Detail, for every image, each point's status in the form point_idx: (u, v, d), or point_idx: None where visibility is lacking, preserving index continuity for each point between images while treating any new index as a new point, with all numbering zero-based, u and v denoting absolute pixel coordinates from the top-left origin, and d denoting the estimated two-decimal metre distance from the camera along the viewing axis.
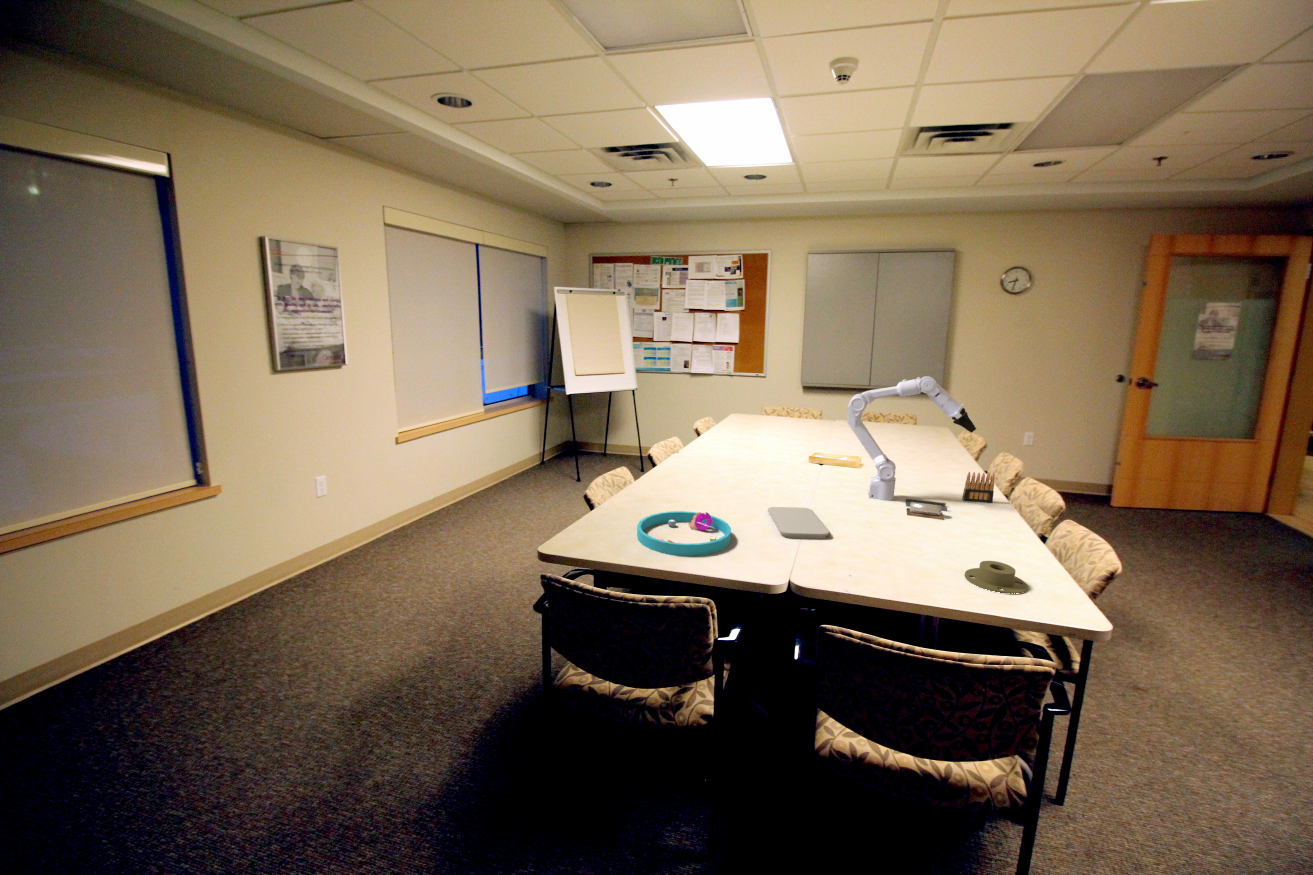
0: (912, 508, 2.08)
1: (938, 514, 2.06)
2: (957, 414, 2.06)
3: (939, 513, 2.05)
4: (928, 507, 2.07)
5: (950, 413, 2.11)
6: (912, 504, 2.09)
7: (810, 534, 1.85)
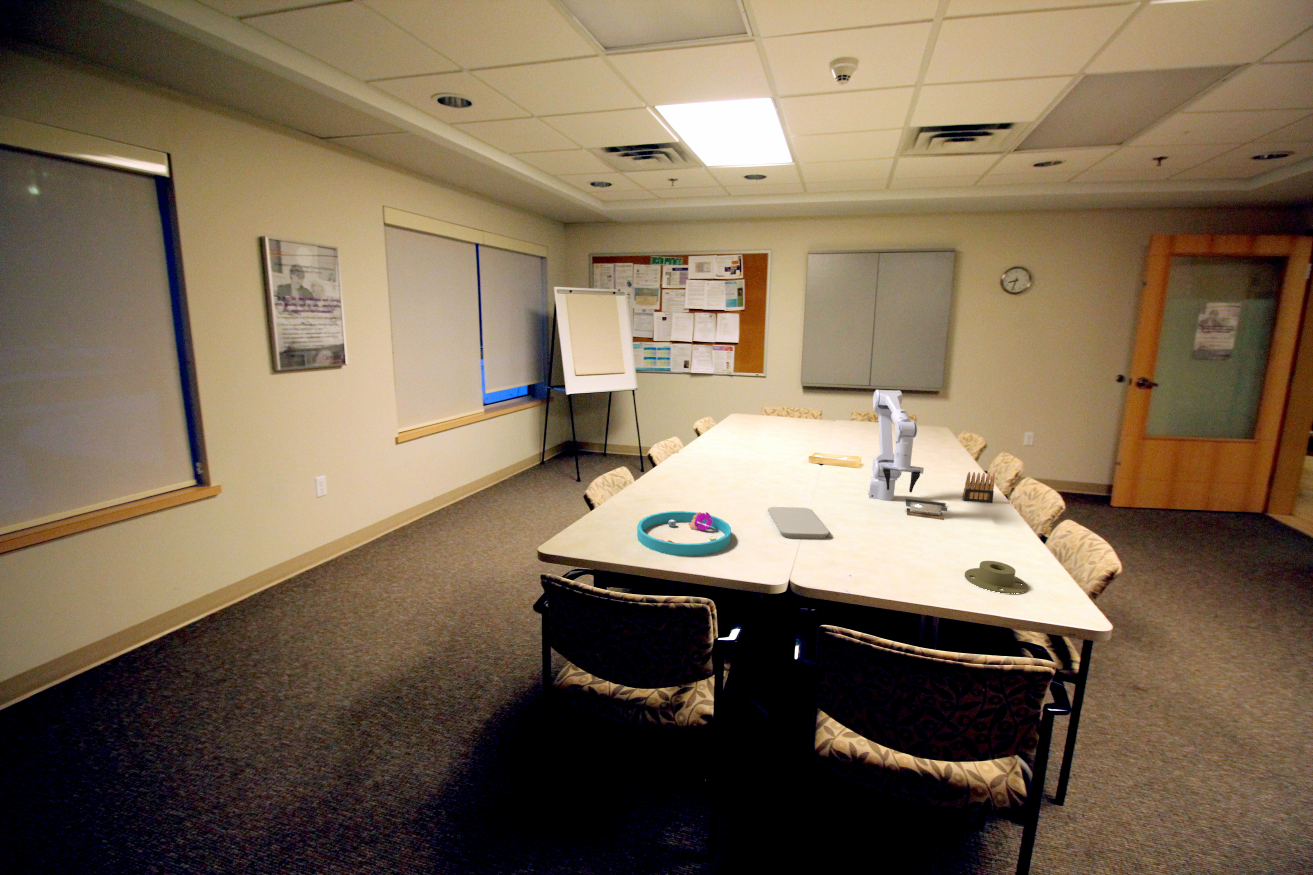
0: (912, 508, 2.08)
1: (938, 514, 2.06)
2: (880, 465, 2.11)
3: (939, 513, 2.05)
4: (928, 507, 2.07)
5: None
6: (912, 504, 2.09)
7: (810, 534, 1.85)
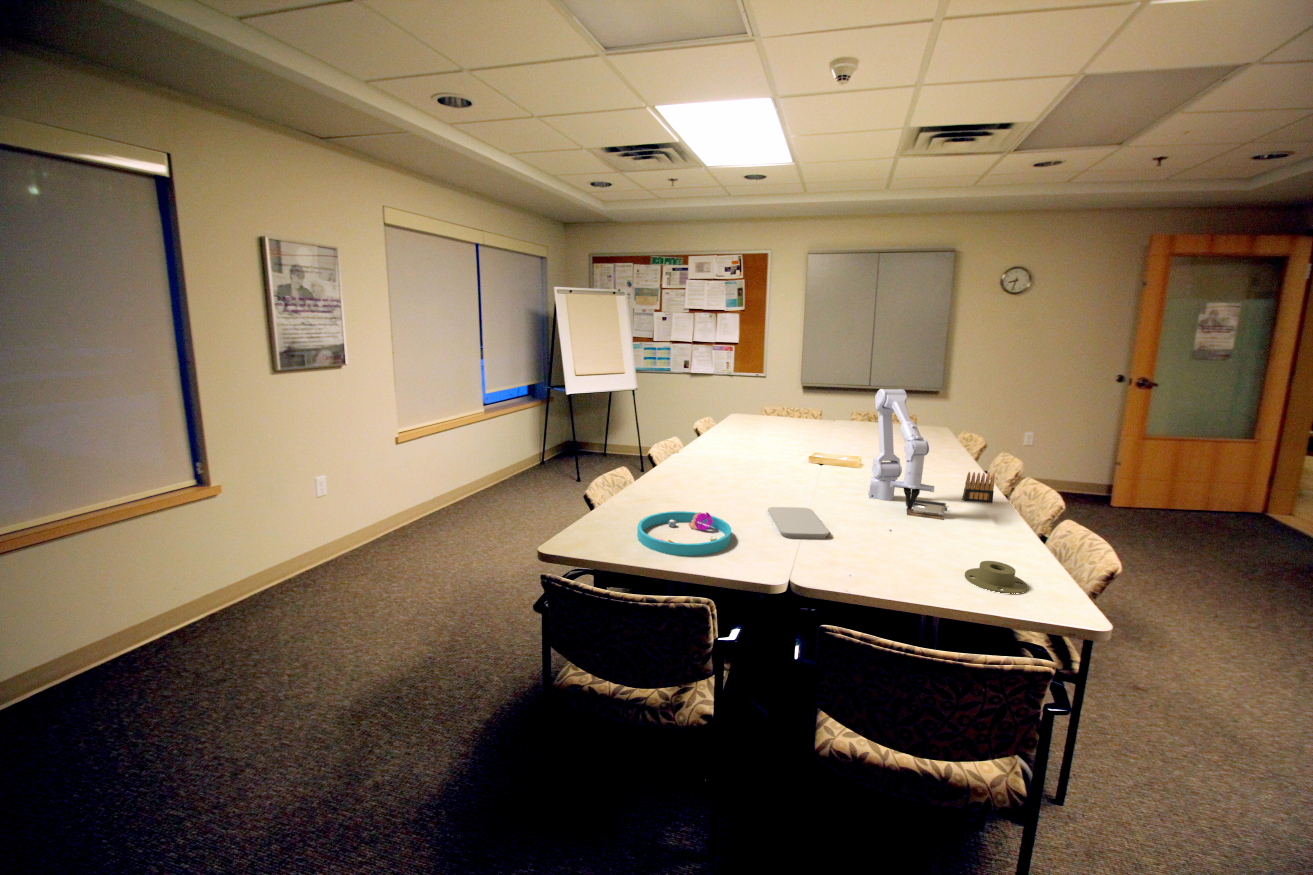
0: (915, 508, 2.08)
1: (941, 514, 2.05)
2: (890, 483, 2.11)
3: (942, 513, 2.05)
4: (931, 507, 2.06)
5: None
6: (915, 504, 2.08)
7: (810, 534, 1.85)
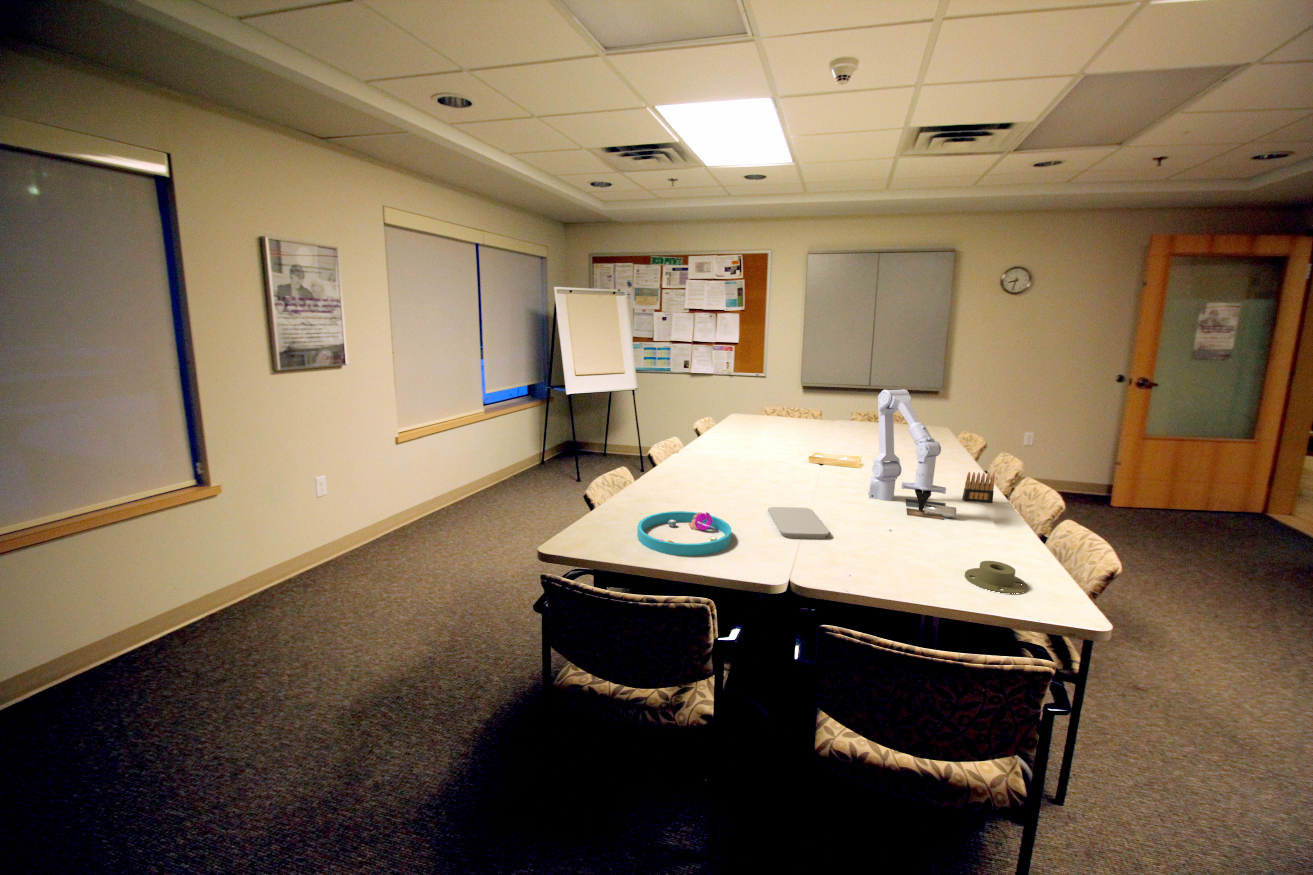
0: (926, 510, 2.07)
1: (953, 516, 2.04)
2: None
3: (954, 515, 2.04)
4: (943, 509, 2.05)
5: None
6: (926, 506, 2.07)
7: (810, 534, 1.85)
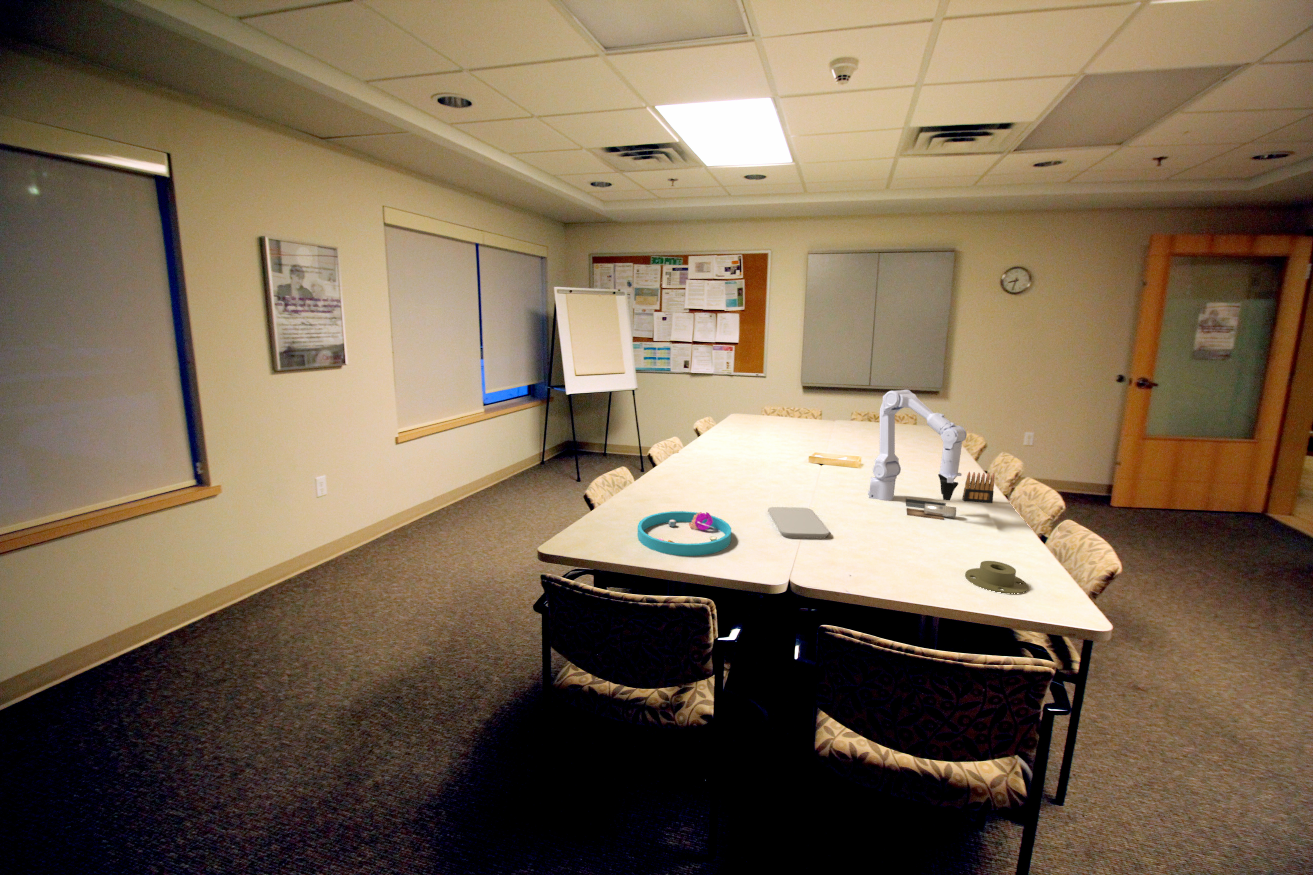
0: (927, 509, 2.07)
1: (953, 515, 2.04)
2: (951, 479, 1.97)
3: (954, 514, 2.04)
4: (943, 508, 2.05)
5: (945, 472, 2.02)
6: (926, 505, 2.08)
7: (810, 534, 1.85)
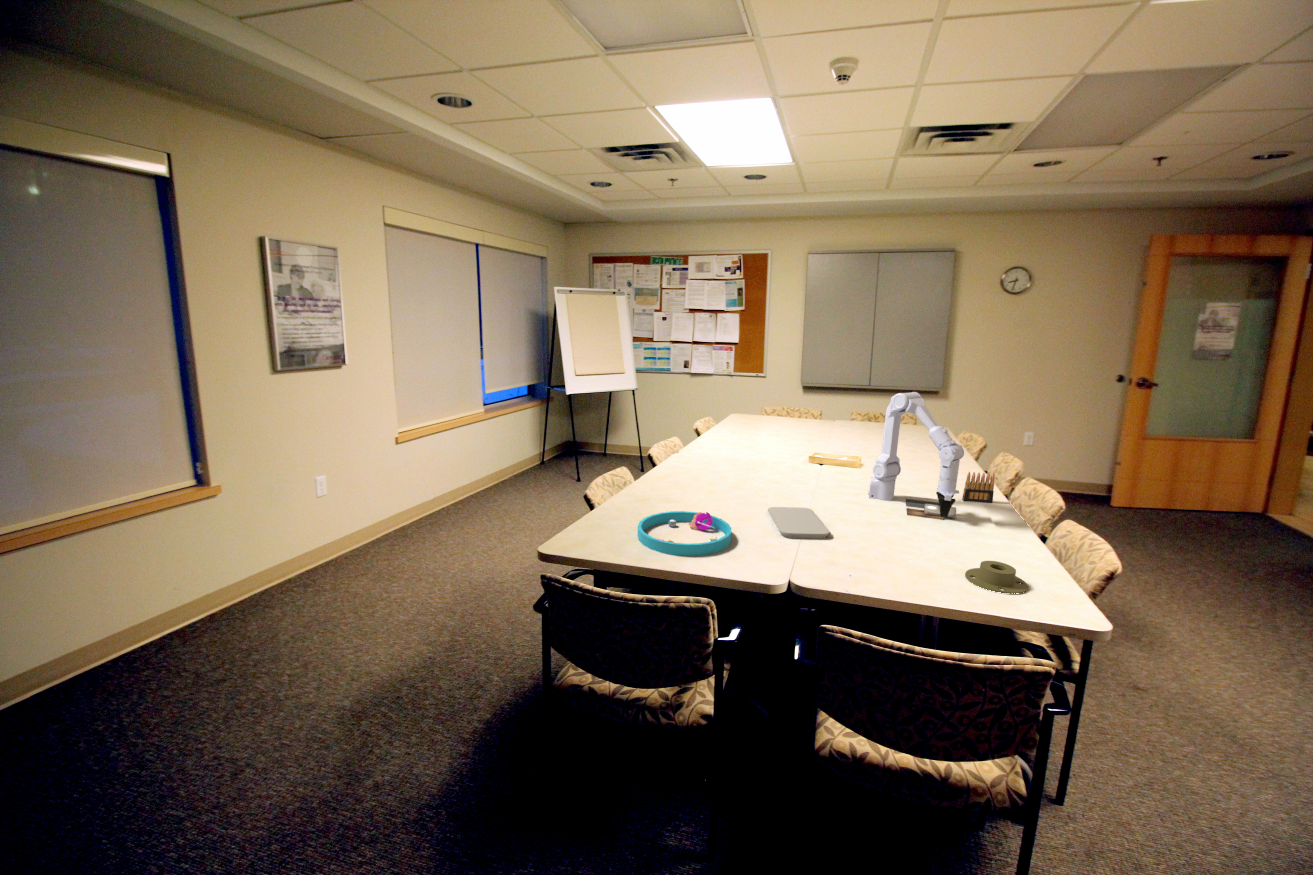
0: (926, 510, 2.07)
1: (953, 516, 2.04)
2: (949, 497, 1.98)
3: (954, 515, 2.04)
4: None
5: (942, 489, 2.03)
6: (926, 506, 2.07)
7: (810, 534, 1.85)
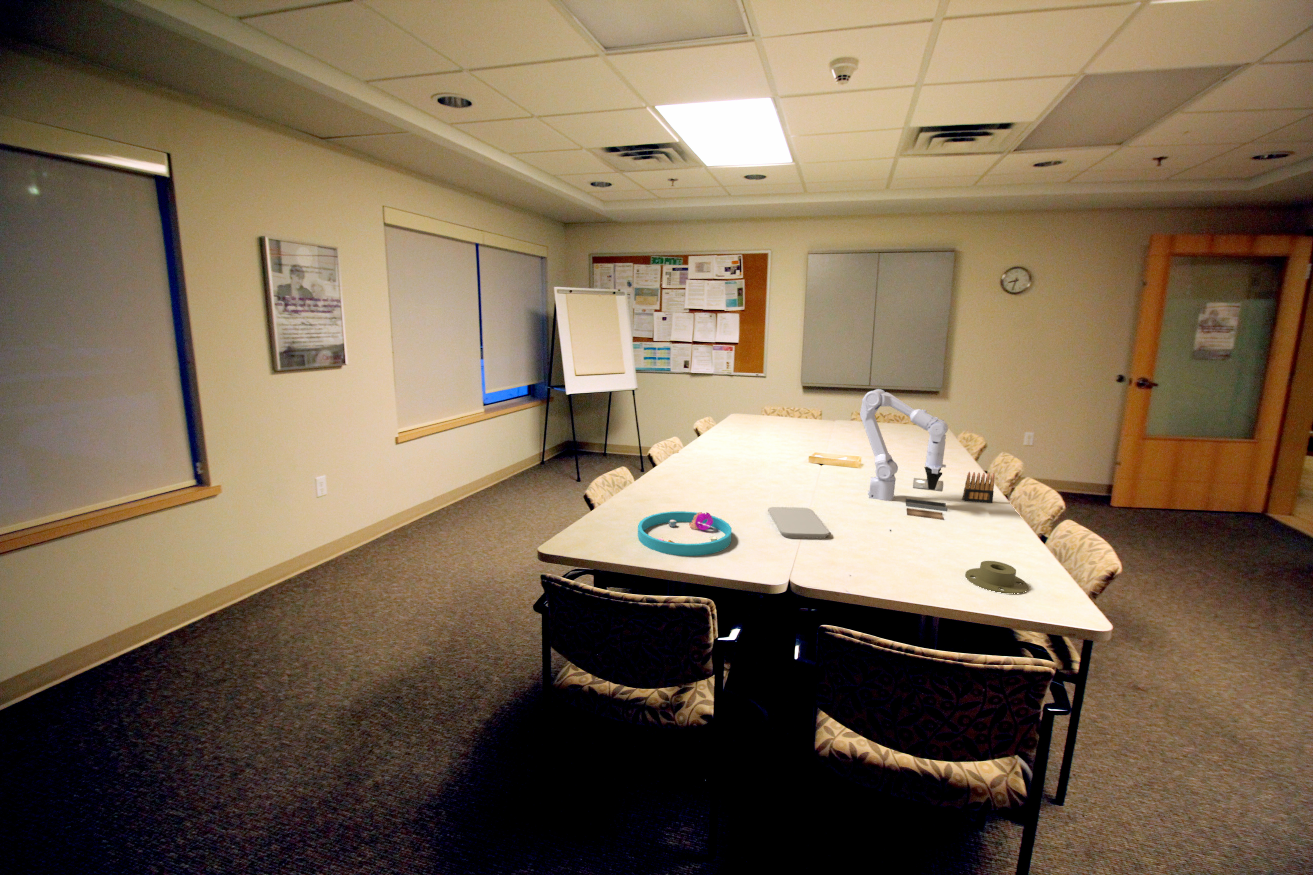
0: (915, 484, 2.17)
1: (940, 489, 2.14)
2: (936, 470, 2.08)
3: (941, 488, 2.14)
4: None
5: (930, 463, 2.13)
6: (915, 480, 2.17)
7: (810, 534, 1.85)
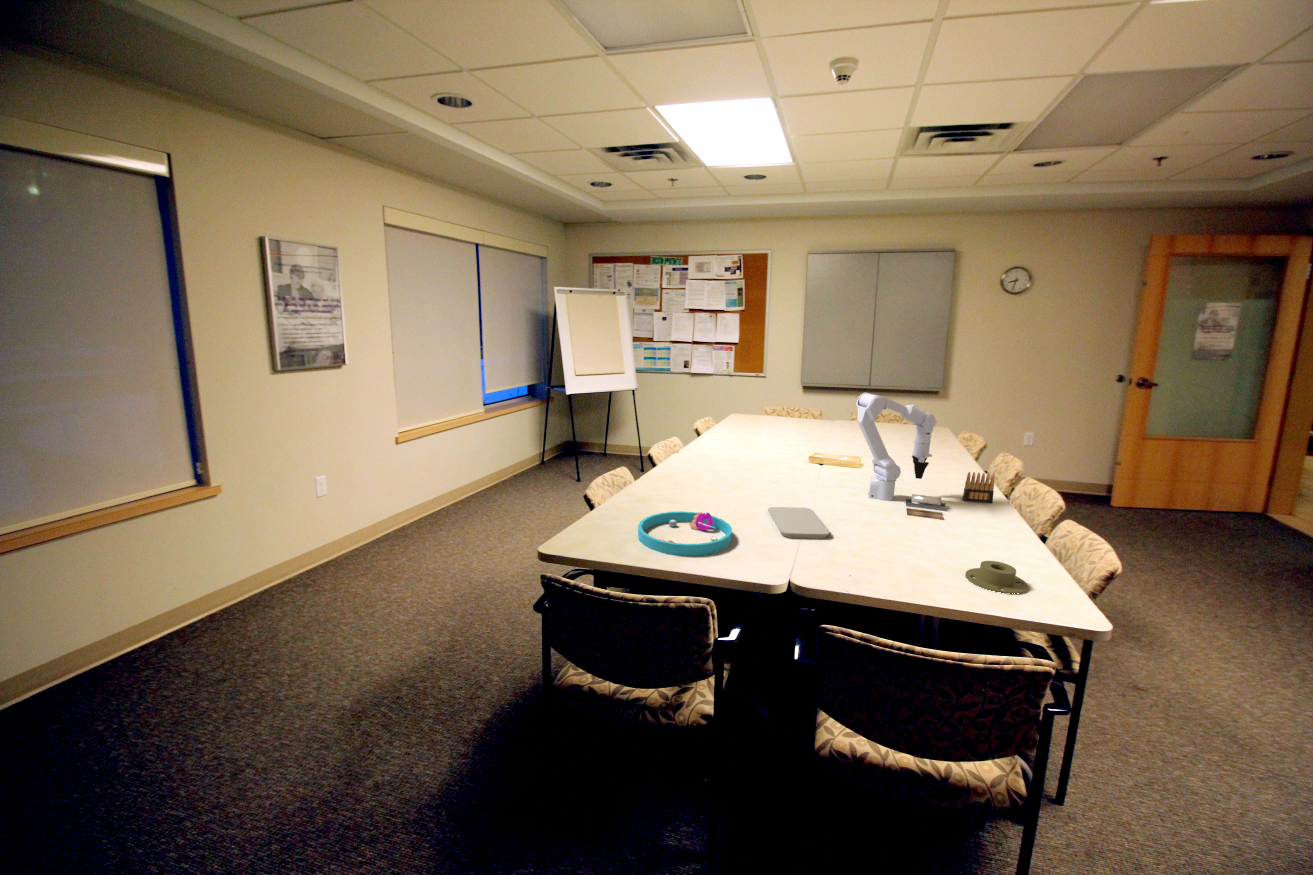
0: (913, 500, 2.18)
1: (938, 505, 2.15)
2: (922, 459, 2.21)
3: (939, 504, 2.15)
4: (928, 499, 2.16)
5: (917, 453, 2.25)
6: (913, 496, 2.19)
7: (811, 534, 1.85)
